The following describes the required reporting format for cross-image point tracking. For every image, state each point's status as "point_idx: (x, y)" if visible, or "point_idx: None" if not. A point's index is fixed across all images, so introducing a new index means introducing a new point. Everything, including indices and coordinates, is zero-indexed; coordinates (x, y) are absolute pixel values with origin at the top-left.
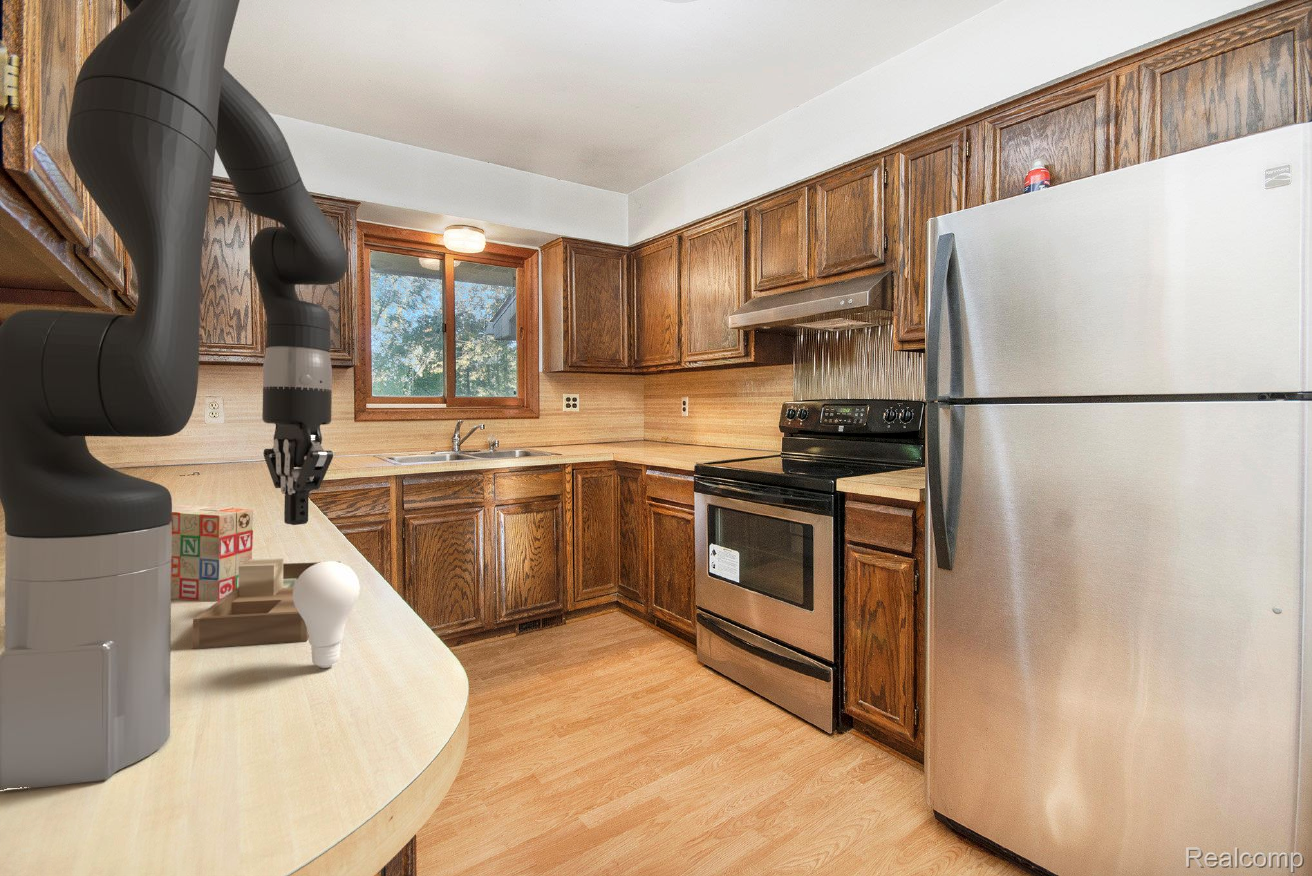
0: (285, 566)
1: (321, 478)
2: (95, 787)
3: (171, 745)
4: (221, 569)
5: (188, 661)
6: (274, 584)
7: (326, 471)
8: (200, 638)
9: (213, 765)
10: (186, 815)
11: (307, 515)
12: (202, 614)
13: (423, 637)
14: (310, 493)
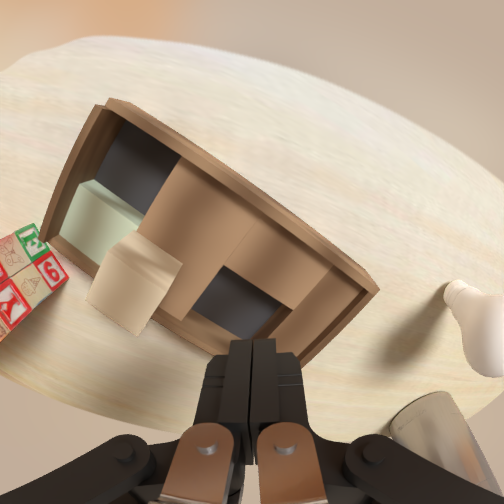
0: (57, 207)
1: (438, 474)
2: None
3: (450, 389)
4: (39, 295)
5: (314, 372)
6: (173, 269)
7: (481, 488)
8: None
9: None
10: (497, 383)
11: (298, 363)
12: None
13: (465, 158)
14: (294, 423)
